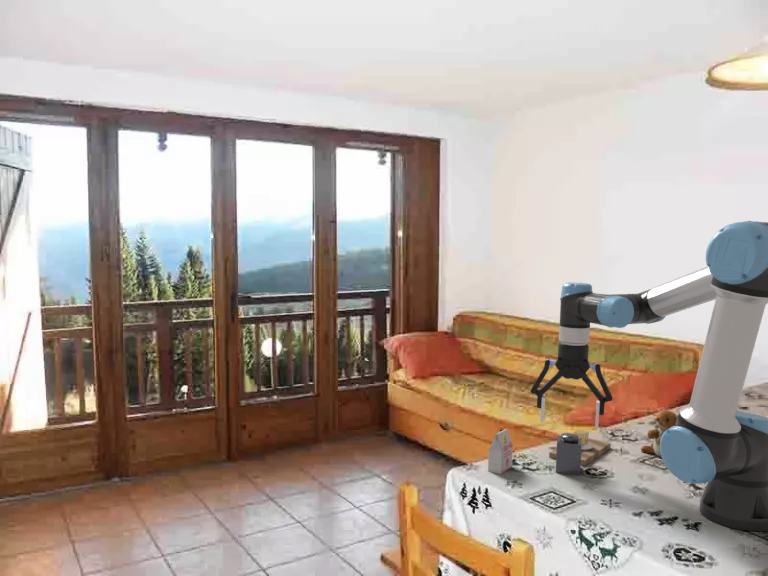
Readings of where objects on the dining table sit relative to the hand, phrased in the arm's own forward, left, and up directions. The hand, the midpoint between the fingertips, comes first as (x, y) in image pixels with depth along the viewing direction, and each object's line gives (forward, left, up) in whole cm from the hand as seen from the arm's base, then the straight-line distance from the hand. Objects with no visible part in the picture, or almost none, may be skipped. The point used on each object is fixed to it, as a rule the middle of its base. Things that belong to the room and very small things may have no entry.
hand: (569, 423), depth 169 cm
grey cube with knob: (0, 0, -12) cm, 12 cm away
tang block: (+16, +3, -12) cm, 20 cm away
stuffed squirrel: (+31, -18, -13) cm, 38 cm away
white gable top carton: (-11, +14, -13) cm, 22 cm away
